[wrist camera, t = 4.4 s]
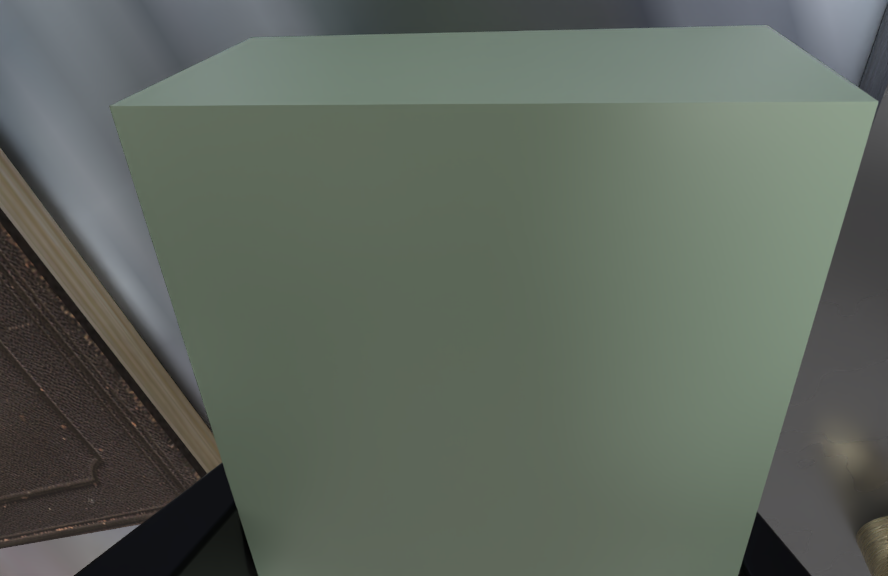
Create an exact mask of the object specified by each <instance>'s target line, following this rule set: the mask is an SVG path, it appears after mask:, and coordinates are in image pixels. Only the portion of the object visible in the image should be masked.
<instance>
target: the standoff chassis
mask: <svg viewBox="0 0 888 576" xmlns="http://www.w3.org/2000/svg"><path fill="white" fill-rule="evenodd" d="M859 88H860V89H861V90H863V91H864V92H866V93H867V94H868V95H870V96H871V97H873V98H874V99H876V100H877V101H879V102H878V106H877V109H876V112H875V116H874V119H873V122H872V126H871V129H870V132H869V136H868V139H867V143H866V146H865V149H864V153H863V156H862V159H861V163H860V166H859V170H858V173H857V176H856V180H855V183H854V186H853V190H852V193H851V197H850V200H849V203H848V207H847V210H846V213H845V217H844V220H843V224H842V227H841V230H840V234H839V237H838V240H837V244H836V247H835V250H834V254H833V257H832V261H831V264H830V267H829V271H828V274H827V277H826V281H825V284H824V288H823V291H822V294H821V298H820V301H819V304H818V308H817V311H816V315H815V318H814V321H813V325H812V328H811V331H810V335H809V338H808V342H807V345H806V348H805V352H804V355H803V358H802V362H801V365H800V368H799V372H798V375H797V379H796V382H795V385H794V389H793V392H792V395H791V399H790V402H789V406H788V409H787V412H786V416H785V419H784V422H783V426H782V429H781V433H780V436H779V439H778V443H777V446H776V449H775V453H774V456H773V460H772V463H771V466H770V470H769V473H768V476H767V480H766V483H765V486H764V490H763V493H762V497H761V500H760V503H759V507H758V510H757V511H758V513H759V514H760V515H761V516H762V517H763V519H764V520H765V521H766V522H767V523H768V524H769V526H770V527H771V528H772V529H773V530H774V532H775V533H776V534H777V535H778V536H779V538H780V539H781V540H782V541H783V542H784V543H785V545H786V546H787V547H788V548H789V549H790V551H791V552H792V553H793V554H794V555H795V557H796V558H797V559H798V560H799V561H800V563H801V564H802V565H803V566H804V567H805V568H806V570H807V571H808V572H809V573H810V574H811V576H888V6H887V8H886V11H885V14H884V17H883V20H882V23H881V26H880V29H879V31H878V34H877V37H876V40H875V43H874V46H873V49H872V52H871V54H870V57H869V60H868V63H867V66H866V69H865V72H864V75H863V77H862V80H861V83H860V86H859Z"/></svg>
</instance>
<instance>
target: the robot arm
mask: <svg viewBox="0 0 888 576" xmlns="http://www.w3.org/2000/svg"><path fill="white" fill-rule="evenodd" d="M74 576H258V573H257V570H256V567H255V564H254V561H253V558H252V554H251V551H250V548H249V545H248V542H247V539H246V535H245V532H244V529H243V526H242V523H241V520H240V517H239V513H238V509H237V507H236V504H235V501H234V498H233V495H232V491H231V488H230V485H229V482H228V479H227V476H226V472H225V469H224V466H223V463H220V464H219V465H218V466H216V467H215V468H214V469H213V470H211V471H210V472H209V473H207V474H206V475H205V476H203V477H202V478H201V479H199V480H198V481H197V482H196V483H194V484H193V485H192V486H190V487H189V488H188V489H186V490H185V491H184V492H182V493H181V494H180V495H179V496H177V497H176V498H175V499H173V500H172V501H171V502H169V503H168V504H167V505H166V506H164V507H163V508H162V509H160V510H159V511H158V512H156V513H155V514H154V515H152V516H151V517H150V518H149V519H147V520H146V521H145V522H143V523H142V524H141V525H139V526H138V527H137V528H135V529H134V530H133V531H132V532H130V533H129V534H128V535H126V536H125V537H124V538H122V539H121V540H120V541H118V542H117V543H116V544H115V545H113V546H112V547H111V548H109V549H108V550H107V551H105V552H104V553H103V554H101V555H100V556H99V557H98V558H96V559H95V560H94V561H92V562H91V563H90V564H88V565H87V566H86V567H85V568H83V569H82V570H81V571H79V572H78V573H77V574H75V575H74ZM738 576H811V574H810V573H809V572H808V571H807V570H806V568H805V567H804V566H803V565H802V564H801V563H800V561H799V560H798V559H797V558H796V557H795V555H794V554H793V553H792V552H791V551H790V549H789V548H788V547H787V546H786V545H785V543H784V542H783V541H782V540H781V539H780V538H779V536H778V535H777V534H776V533H775V532H774V530H773V529H772V528H771V527H770V526H769V524H768V523H767V522H766V521H765V520H764V519H763V517H762V516H761V515H760V514H759V513H758V511H757V513H756V517H755V520H754V524H753V527H752V530H751V534H750V537H749V540H748V544H747V547H746V551H745V554H744V557H743V561H742V564H741V567H740V571H739V574H738Z"/></svg>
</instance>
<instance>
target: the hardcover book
mask: <svg viewBox="0 0 888 576" xmlns="http://www.w3.org/2000/svg"><path fill="white" fill-rule="evenodd" d="M220 463H222V460H221V457H220V454H219V450H218V447H217V444H216V441H215V438H214V435H213V433H212V432H211V431H210V429H209V428H208V427H207V425H206V424H205V423H204V421H203V420H202V419H201V417H200V416H199V415H198V413H197V412H196V411H195V409H194V408H193V407H192V405H191V404H190V403H189V401H188V400H187V398H186V397H185V396H184V394H183V393H182V392H181V390H180V389H179V388H178V386H177V385H176V384H175V382H174V381H173V380H172V378H171V377H170V376H169V374H168V373H167V372H166V370H165V369H164V367H163V366H162V365H161V363H160V362H159V361H158V359H157V358H156V357H155V355H154V354H153V353H152V351H151V350H150V349H149V347H148V346H147V345H146V343H145V342H144V341H143V339H142V338H141V337H140V335H139V334H138V332H137V331H136V330H135V328H134V327H133V326H132V324H131V323H130V322H129V320H128V319H127V318H126V316H125V315H124V314H123V312H122V311H121V310H120V308H119V307H118V306H117V304H116V303H115V302H114V300H113V299H112V297H111V296H110V295H109V293H108V292H107V291H106V289H105V288H104V287H103V285H102V284H101V283H100V281H99V280H98V279H97V277H96V276H95V275H94V273H93V272H92V271H91V269H90V268H89V266H88V265H87V264H86V262H85V261H84V260H83V258H82V257H81V256H80V254H79V253H78V252H77V250H76V249H75V248H74V246H73V245H72V244H71V242H70V241H69V240H68V238H67V237H66V236H65V234H64V233H63V231H62V230H61V229H60V227H59V226H58V225H57V223H56V222H55V221H54V219H53V218H52V217H51V215H50V214H49V213H48V211H47V210H46V209H45V207H44V206H43V205H42V203H41V202H40V200H39V199H38V198H37V196H36V195H35V194H34V192H33V191H32V190H31V188H30V187H29V186H28V184H27V183H26V182H25V180H24V179H23V178H22V176H21V175H20V174H19V172H18V171H17V170H16V168H15V167H14V165H13V164H12V163H11V161H10V160H9V159H8V157H7V156H6V155H5V153H4V152H3V151H2V149H1V148H0V549H1V548H6V547H12V546H18V545H24V544H29V543H35V542H41V541H47V540H52V539H58V538H64V537H70V536H76V535H81V534H87V533H93V532H99V531H104V530H110V529H116V528H122V527H127V526H133V525H139V524H142V523H143V522H145V521H146V520H147V519H149V518H150V517H151V516H152V515H154V514H155V513H156V512H158V511H159V510H160V509H162V508H163V507H164V506H166V505H167V504H168V503H169V502H171V501H172V500H173V499H175V498H176V497H177V496H179V495H180V494H181V493H182V492H184V491H185V490H186V489H188V488H189V487H190V486H192V485H193V484H194V483H196V482H197V481H198V480H199V479H201V478H202V477H203V476H205V475H206V474H207V473H209V472H210V471H211V470H213V469H214V468H215V467H216V466H218V465H219V464H220Z"/></svg>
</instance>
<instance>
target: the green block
mask: <svg viewBox="0 0 888 576" xmlns="http://www.w3.org/2000/svg"><path fill="white" fill-rule="evenodd" d="M878 102H879V101H877V100H876V99H874V98H873V97H871V96H870V95H868V94H867V93H866V92H864V91H863V90H861V89H860V88H858V87H857V86H855V85H854V84H852V83H851V82H850V81H848V80H847V79H845V78H844V77H842V76H841V75H839V74H838V73H836V72H835V71H833V70H832V69H831V68H829V67H828V66H826V65H825V64H823V63H822V62H820V61H819V60H817V59H816V58H814V57H813V56H812V55H810V54H809V53H807V52H806V51H804V50H803V49H801V48H800V47H798V46H797V45H795V44H794V43H793V42H791V41H790V40H788V39H787V38H785V37H784V36H782V35H781V34H779V33H778V32H777V31H775V30H774V29H772V28H771V27H769V26H768V25H751V26H708V27H666V28H624V29H582V30H540V31H497V32H455V33H413V34H371V35H329V36H286V37H251V38H249V39H247V40H245V41H243V42H241V43H239V44H237V45H235V46H233V47H231V48H228V49H226V50H224V51H222V52H220V53H218V54H216V55H214V56H212V57H210V58H208V59H206V60H204V61H202V62H200V63H197V64H195V65H193V66H191V67H189V68H187V69H185V70H183V71H181V72H179V73H177V74H175V75H173V76H171V77H168V78H166V79H164V80H162V81H160V82H158V83H156V84H154V85H152V86H150V87H148V88H146V89H144V90H142V91H139V92H137V93H135V94H133V95H131V96H129V97H127V98H125V99H123V100H121V101H119V102H117V103H115V104H113V105H111V106H109V107H110V110H111V113H112V116H113V120H114V123H115V126H116V129H117V132H118V135H119V139H120V142H121V145H122V148H123V151H124V154H125V157H126V161H127V164H128V167H129V170H130V173H131V176H132V179H133V183H134V186H135V189H136V192H137V195H138V198H139V202H140V205H141V208H142V211H143V214H144V217H145V220H146V224H147V227H148V230H149V233H150V236H151V239H152V242H153V246H154V249H155V252H156V255H157V258H158V261H159V265H160V268H161V271H162V274H163V277H164V280H165V283H166V287H167V290H168V293H169V296H170V299H171V302H172V305H173V309H174V312H175V315H176V318H177V321H178V324H179V328H180V331H181V334H182V337H183V340H184V343H185V346H186V350H187V353H188V356H189V359H190V362H191V365H192V369H193V372H194V375H195V378H196V381H197V384H198V387H199V391H200V394H201V397H202V400H203V403H204V406H205V409H206V413H207V416H208V419H209V422H210V425H211V428H212V432H213V435H214V438H215V441H216V444H217V447H218V450H219V454H220V457H221V460H222V463H223V466H224V469H225V472H226V476H227V479H228V482H229V485H230V488H231V491H232V495H233V498H234V501H235V504H236V507H237V509H238V513H239V517H240V520H241V523H242V526H243V529H244V532H245V535H246V539H247V542H248V545H249V548H250V551H251V554H252V558H253V561H254V564H255V567H256V570H257V573H258V576H738V574H739V571H740V567H741V564H742V561H743V557H744V554H745V551H746V547H747V544H748V540H749V537H750V534H751V530H752V527H753V524H754V520H755V517H756V513H757V510H758V507H759V503H760V500H761V497H762V493H763V490H764V486H765V483H766V480H767V476H768V473H769V470H770V466H771V463H772V460H773V456H774V453H775V449H776V446H777V443H778V439H779V436H780V433H781V429H782V426H783V422H784V419H785V416H786V412H787V409H788V406H789V402H790V399H791V395H792V392H793V389H794V385H795V382H796V379H797V375H798V372H799V368H800V365H801V362H802V358H803V355H804V352H805V348H806V345H807V342H808V338H809V335H810V331H811V328H812V325H813V321H814V318H815V315H816V311H817V308H818V304H819V301H820V298H821V294H822V291H823V288H824V284H825V281H826V277H827V274H828V271H829V267H830V264H831V261H832V257H833V254H834V250H835V247H836V244H837V240H838V237H839V234H840V230H841V227H842V224H843V220H844V217H845V213H846V210H847V207H848V203H849V200H850V197H851V193H852V190H853V186H854V183H855V180H856V176H857V173H858V170H859V166H860V163H861V159H862V156H863V153H864V149H865V146H866V143H867V139H868V136H869V132H870V129H871V126H872V122H873V119H874V116H875V112H876V109H877V106H878Z"/></svg>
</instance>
